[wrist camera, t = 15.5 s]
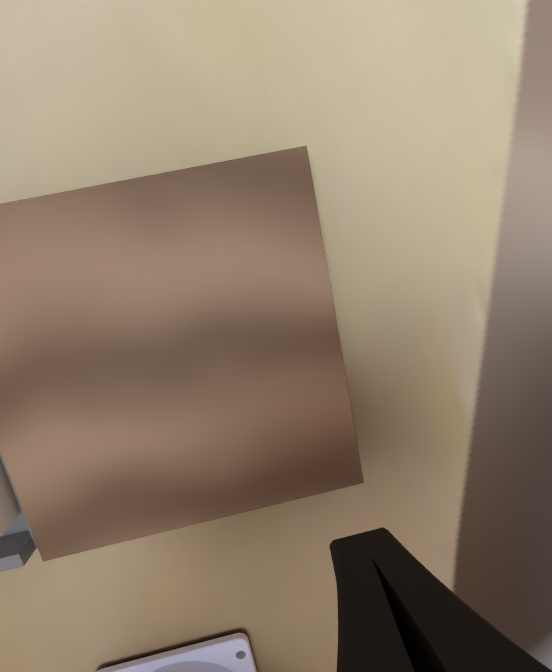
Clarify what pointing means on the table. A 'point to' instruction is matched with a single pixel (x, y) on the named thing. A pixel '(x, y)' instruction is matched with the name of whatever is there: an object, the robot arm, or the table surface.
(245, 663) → the robot arm
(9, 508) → the tile cream
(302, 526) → the table surface
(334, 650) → the table surface
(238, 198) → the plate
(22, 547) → the box
